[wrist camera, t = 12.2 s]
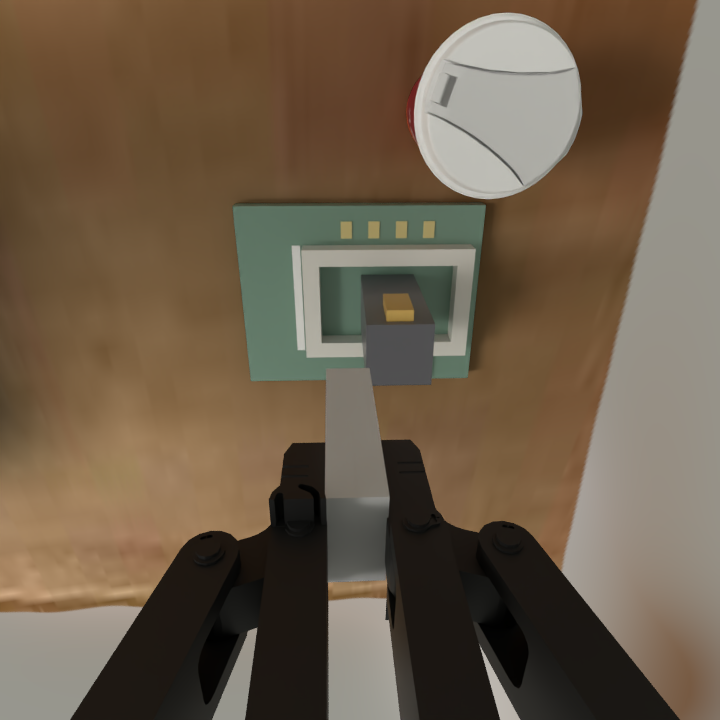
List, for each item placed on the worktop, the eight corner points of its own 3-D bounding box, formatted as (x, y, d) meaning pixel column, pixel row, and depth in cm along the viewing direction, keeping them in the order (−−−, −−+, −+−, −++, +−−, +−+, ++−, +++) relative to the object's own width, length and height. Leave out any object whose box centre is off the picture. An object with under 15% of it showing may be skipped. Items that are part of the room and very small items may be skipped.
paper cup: (375, 150, 36) (393, 172, 23) (413, 27, 33) (458, -24, 20) (476, 186, 37) (545, 225, 25) (523, 71, 34) (630, 48, 21)
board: (253, 374, 43) (247, 390, 41) (235, 203, 37) (228, 210, 35) (464, 371, 44) (471, 386, 41) (481, 202, 38) (491, 208, 35)
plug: (360, 324, 40) (366, 385, 31) (360, 265, 38) (366, 313, 29) (411, 323, 40) (431, 384, 31) (414, 265, 38) (436, 312, 29)
